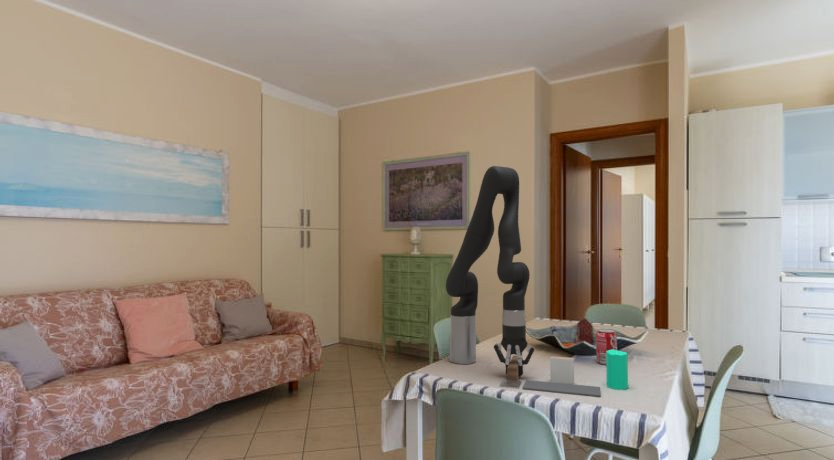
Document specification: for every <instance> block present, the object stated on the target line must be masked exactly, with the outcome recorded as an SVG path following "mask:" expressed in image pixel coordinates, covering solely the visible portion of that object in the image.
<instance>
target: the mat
mask: <svg viewBox="0 0 834 460" xmlns="http://www.w3.org/2000/svg"><path fill="white" fill-rule="evenodd" d="M522 390H524V391H525V390H527V391H535V392H536V391H538V392H546V393H547V392H548V393H556V394H567V395H574V396H575V395H576V396H585V397H586V396H587V397H595V398H601V397H602V394H601V387H600V386H595V385H594V386H593V385H585V384H584V385H583V384H575V383H574V384H564V383H553V382H551V381H544V380H543V381H541V380H529V379H525V381H524V383H523V385H522Z"/></svg>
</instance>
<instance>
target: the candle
mask: <svg viewBox="0 0 834 460" xmlns="http://www.w3.org/2000/svg"><path fill="white" fill-rule="evenodd" d="M628 358H629V357H628V353H627V352H626V351H621V350H618V346H617V347H616V350H608V351H606V365H605V366H606V367H605V368H606V369H605V370H606V386H607V388H610V389H613V390H619V391H620V390H621V391H622V390H623V391H624V390H627V389H629V372H628V371H629V370H628V369H629V368H628V367H629V365H628V363H629V361H628Z"/></svg>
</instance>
